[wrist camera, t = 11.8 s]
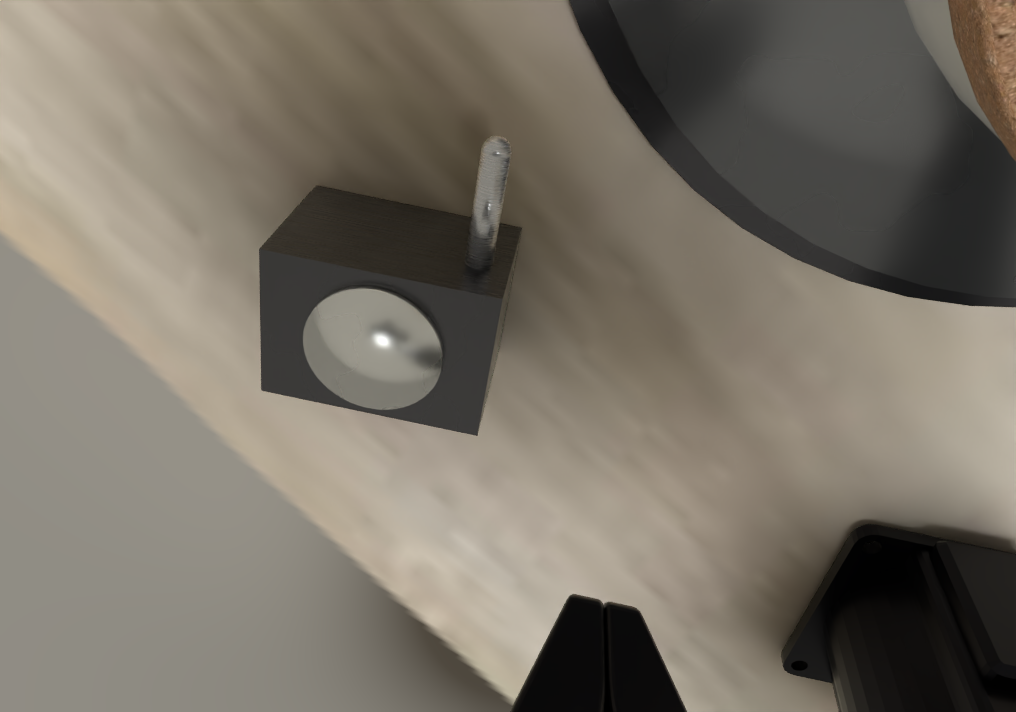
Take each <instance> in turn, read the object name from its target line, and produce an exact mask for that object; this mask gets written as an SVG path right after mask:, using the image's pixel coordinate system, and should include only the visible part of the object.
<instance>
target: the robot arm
mask: <svg viewBox="0 0 1016 712" xmlns="http://www.w3.org/2000/svg"><path fill="white" fill-rule="evenodd" d="M870 541H875V542H873V543H867V542H870ZM781 658H782V663H783V667H784V670H785V671H787V672H788V673H790V674H793V675H796V676H801V677H806V678H811V679H815V680H820V681H825V682H829V683H832V684H833V688H834V693H835V697H836V701H837V705H838V709H839V712H1016V554H1013V553H1008V552H1003V551H998V550H994V549H989V548H984V547H979V546H975V545H970V544H965V543H960V542H955V541H951V540H946V539H941V538H936V537H932V536H927V535H922V534H917V533H913V532H908V531H903V530H898V529H894V528H889V527H884V526H879V525H872V524H868V525H863V526H860V527H858V528H856V529H855V530H854V531H853V532H852V533H851V534H850V536H849V538H848V539H847V541H846V543H845V544H844V546H843V548H842V550H841V551H840V553H839V555H838V556H837V558H836V560H835V562H834V563H833V565H832V567H831V568H830V570H829V572H828V574H827V575H826V577H825V579H824V580H823V582H822V584H821V586H820V587H819V589H818V591H817V592H816V594H815V596H814V598H813V599H812V601H811V603H810V604H809V606H808V608H807V610H806V611H805V613H804V615H803V616H802V618H801V620H800V622H799V623H798V625H797V627H796V628H795V630H794V632H793V634H792V635H791V637H790V639H789V640H788V642H787V644H786V646H785V647H784V649H783V651H782V654H781ZM510 712H687V711H686V708H685V706H684V704H683V702H682V700H681V698H680V696H679V693H678V691H677V689H676V687H675V685H674V683H673V680H672V678H671V676H670V674H669V672H668V670H667V668H666V665H665V663H664V661H663V659H662V657H661V655H660V653H659V650H658V648H657V646H656V644H655V642H654V640H653V638H652V635H651V633H650V631H649V629H648V627H647V625H646V623H645V620H644V618H643V616H642V614H641V613H640V611H639V610H638V609H637V608H635V607H632V606H627V605H623V604H618V603H613V602H607V603H605V604H604V605H603V603H602V602H601V601H600V600H598V599H595V598H590V597H585V596H581V595H576V594H572V595H570V596H569V597H568V599H567V600H566V602H565V604H564V606H563V608H562V610H561V612H560V614H559V616H558V618H557V620H556V622H555V624H554V626H553V628H552V630H551V632H550V634H549V636H548V638H547V640H546V642H545V643H544V645H543V647H542V649H541V651H540V653H539V655H538V657H537V659H536V661H535V663H534V665H533V667H532V669H531V671H530V673H529V675H528V677H527V679H526V681H525V683H524V685H523V687H522V689H521V691H520V693H519V694H518V696H517V698H516V700H515V702H514V704H513V706H512V708H511V710H510Z"/></svg>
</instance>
